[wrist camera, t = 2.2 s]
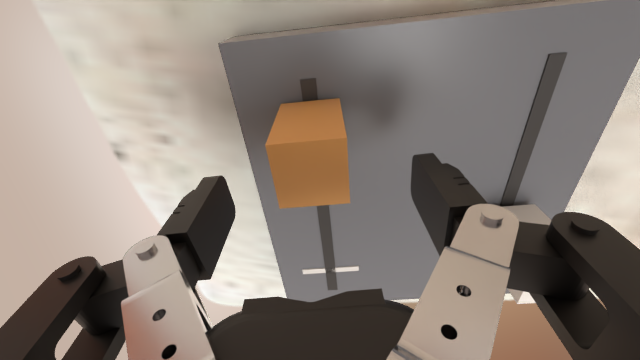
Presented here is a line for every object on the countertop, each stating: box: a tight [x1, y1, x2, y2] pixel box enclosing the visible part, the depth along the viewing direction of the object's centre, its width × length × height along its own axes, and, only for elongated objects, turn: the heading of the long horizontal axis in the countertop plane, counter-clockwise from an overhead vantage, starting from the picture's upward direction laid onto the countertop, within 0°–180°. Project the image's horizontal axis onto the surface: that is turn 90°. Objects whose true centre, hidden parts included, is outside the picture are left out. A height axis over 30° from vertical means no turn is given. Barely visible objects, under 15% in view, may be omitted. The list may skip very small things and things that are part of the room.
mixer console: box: [219, 0, 640, 302], centre depth 19 cm, size 21×20×3 cm
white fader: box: [503, 204, 551, 304], centre depth 17 cm, size 3×3×5 cm
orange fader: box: [265, 98, 350, 209], centre depth 13 cm, size 3×3×5 cm
